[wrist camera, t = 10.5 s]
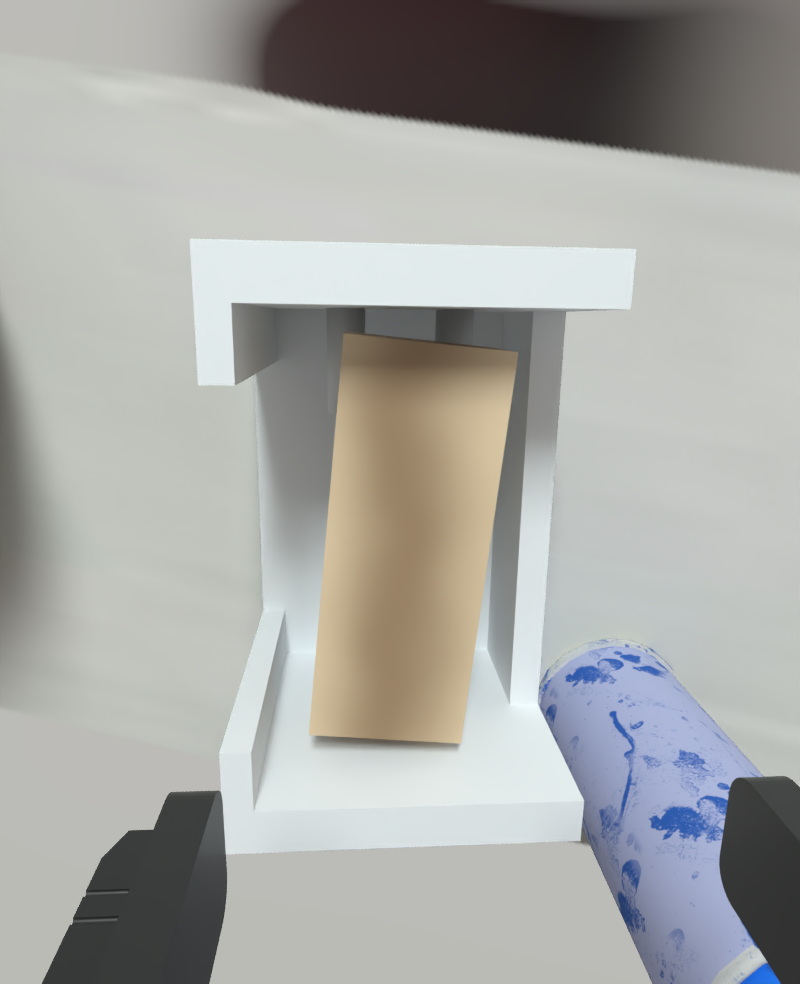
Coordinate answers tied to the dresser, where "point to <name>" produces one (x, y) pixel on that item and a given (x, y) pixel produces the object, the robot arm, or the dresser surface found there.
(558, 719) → the aerosol can
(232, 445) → the dresser surface
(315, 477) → the cabinet bay
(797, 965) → the robot arm
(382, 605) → the shelf board
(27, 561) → the dresser surface
